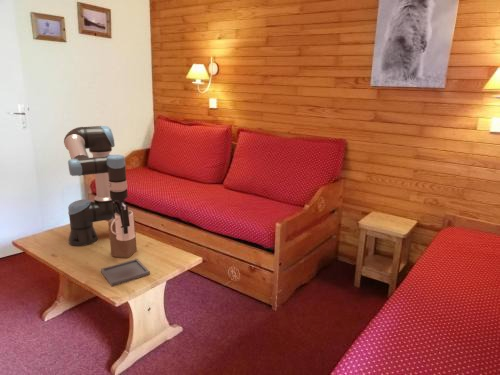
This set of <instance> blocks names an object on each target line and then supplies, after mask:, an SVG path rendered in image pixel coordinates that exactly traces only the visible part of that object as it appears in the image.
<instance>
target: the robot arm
mask: <svg viewBox="0 0 500 375" xmlns="http://www.w3.org/2000/svg"><path fill="white" fill-rule="evenodd" d="M63 144H64V147H65V148H66V150H67V151H68V153H69V157H70V159H68V161H67V164H68V172H69V176H72V177H75V176H76V177H77V176H78V177H81V176H88V175H94V181H95V191H96V192H95V193H96V196H95V197H93V198H94V199H93V201H91V200H90V199H87V198H86V199H85V198H83V199H78V200H75V201H73V202H71V203H70V204H69V205H68V208H67V210H68V215H69V216H68V218H69V225H70V226H69V227H70V231H69V236H68V244H69V245H71V246H75V247H81V246H87V245H91V244H94V243H95V242H97V240H98V234H97V232H96V229H95V228H94V225H93V224H94V223H98V222H103V221H110V220H111V219H113V218H114V219H115V213H116V212H117V213H118V214H119V215H120V218H121V223H122V226H121V228H122V240H123V241H124V240H128V239H129V233H128V226H130V223H129V216H128V210H129V208H128V207H129V206H128V204H126V202H125V200H126V199H127V198H128V197H129V194H128V180H127V170H126V164H127V163H126V159H125V156H124V155H123V154H110V153H112V150H113V148H114V147H115V138H114V134H113V131H112V129H111V128H110V126H107V125H96V126H92V125H91V126H79V127H74V128H73V129H71V130H70V131H68V132H67V134H66V135H65V137H64V138H63ZM87 150H89V153H91V154H92V157H89V154H88V152H87ZM115 227H116V223H115Z"/></svg>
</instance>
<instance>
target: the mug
mask: <svg viewBox="0 0 500 375" xmlns="http://www.w3.org/2000/svg"><path fill="white" fill-rule="evenodd" d="M128 216H129V223H130V226H128V233H129V239H128V240H131V239H133V238H135V233H136V230H135V231H134V220H135V217H134V212H133V211H132V210H129V209H128ZM133 217H134V218H133ZM114 222H115V223H116V233H115V232H113V230H112V225H113V223H114ZM121 226H122V223H121V218H120V215H119V214H118V213H117V212H116V213H115V219H114V220H113V222H112V223H111V231H112V233H113V234H115V235H117V236H116V239H117V240H120V241H123V240H122V228H121ZM124 241H127V240H124Z"/></svg>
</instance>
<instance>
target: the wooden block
mask: <svg viewBox="0 0 500 375" xmlns="http://www.w3.org/2000/svg"><path fill="white" fill-rule="evenodd" d="M133 218H134V231H135V238H133V239H131V240H127V241H120V240H117V239H116V236H117V235H115V234H113V233H112V231H111V223H112V222H113V220H114V218H113V219H111V220H108V221H107V222H108V223H107V224H108V233H109V234H108V235H109V243H110V244H109V245H110V246H109V247H110V255H111V257H115V258H124V259H128V258H130V257H131V256H132V255H133V254H135V253H136V252H137V248H138V247H137V236H136V235H137V234H136V222H135V220H136V219H135V217H134V216H133ZM112 230H113V232H115V233H116V227H115V222H114V223H113V225H112Z"/></svg>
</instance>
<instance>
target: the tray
mask: <svg viewBox="0 0 500 375" xmlns="http://www.w3.org/2000/svg"><path fill="white" fill-rule="evenodd" d="M100 273H101V275H103V277H104V278H105V280H106V281H107V283H108V284H109V285H110V286H111V287H115V286H118V285H121V284H124V283H127V282H128V283H129V282H131V281H135V280H138V279H141V278H144V277H147V276H150V275H151V272H150V270H149V269H148V268H147V267H146V266H145V265H144V264H143V263H142V262H141V261H140V260H139V259H138V258H134V259H131V260H128V261H124V262H121V263H116V264H114V265H110V266H107V267H102V268H100Z"/></svg>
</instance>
